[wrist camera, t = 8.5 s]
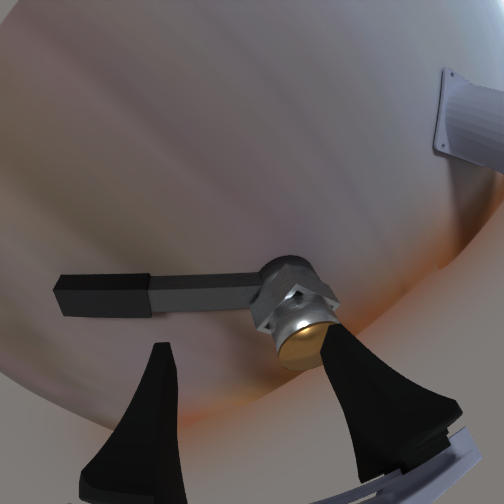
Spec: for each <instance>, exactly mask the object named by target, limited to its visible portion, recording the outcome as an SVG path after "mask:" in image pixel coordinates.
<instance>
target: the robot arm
mask: <svg viewBox="0 0 504 504" xmlns="http://www.w3.org/2000/svg"><path fill="white" fill-rule="evenodd" d="M441 146H442V147H441ZM434 148H435V149H436V150H438V151H441V152H444V153H447V154H450V155H452V156H455V157H458V158H461V159H463V160H466V161H469V162H471V163H474V164H476V165H479V166H481V167H484V166H487V167H490V168H492V169H494V170H496V171H498V172H499V173H501V174H503V175H504V92H503V91H499V90H495V89H491V88H486V87H481V86H476V85H473V84H472V83H471V82H469V81H468V80H466V79H465V78H463V77H462V76H460V75H459V74H457V73H456V72H454V71H453V70H451V69H450V68H444V69H443V77H442V89H441V99H440V107H439V115H438V122H437V128H436V134H435V140H434ZM320 355H321V359H322V362H323V365H324V368H325V371H326V374H327V375H328V378H329V380H330V383H331V385H332V387H333V389H334V391H335V394H336V396H337V398H338V400H339V402H340V404H341V407H342V409H343V412H344V415H345V418H346V421H347V424H348V428H349V431H350V435H351V439H352V443H353V447H354V452H355V457H356V463H357V468H358V477H359V480H360V482H361V483H364V482H367V481H369V480H371V479H373V478H376V477H378V476H380V475H383V474H384V475H385V476H383V477H381V478H379V479H377V480H374V481H372V482H370V483H367V484H365V485H363V486H360V487H357V488H355V489H353V490H350V491H347V492H344V493H342V494H339V495H336V496H333V497H330V498H327V499H324V500H320V501H317V502H313V503H310V504H348V503H351V502H353V501H356V500H358V499H361V498H363V497H365V496H368V495H370V494H372V493H375V492H377V493H376V496H375V497H373V498H370V499H368V500H365V501H363V502H360V503H358V504H431V503H432V502H433V501H435V500H436V499H437V498H438V497H439V496H441V495H442V494H443V493H444V492H445V491H447V490H448V489H449V488H450V487H451V486H452V485H453V484H454V483H456V482H457V481H458V480H459V479H460V478H461V477H462V476H463V475H464V474H465V473H466V472H468V471H469V470H470V469H471V468H472V467H473V466H474V465H475V464H476V463H478V462H479V461H480V460H481V459H482V456H481V454H480V452H479V450H478V448H477V446H476V444H475V442H474V440H473V439H472V437H471V435H470V433H469V431H468V429H467V427H466V426H464V427H463V428H462V429H461V430H459V431H458V432H456V433H455V434H454V435H452V436H451V437H449V438H447V436H446V435H447V434H448V433H449V432H448V430H447V427H449V426H450V425H451V424H452V423H453V422H455V421H456V420H457V419H458V418H459V417H460V416H461V415H462V413H463V412H462V410H461V408H460V407H459V405H458V403H457V402H456V400H454V399H450V398H447V397H445V396H441V395H439V394H437V393H434V392H432V391H430V390H427V389H425V388H423V387H421V386H419V385H417V384H416V383H414V382H412V381H410V380H409V379H407V378H405V377H404V376H402V375H401V374H399V373H398V372H396V371H395V370H393V369H392V368H391V367H389V366H388V365H387V364H386V363H384V362H383V361H382V360H380V359H379V358H378V357H377V356H376V355H374V354H373V353H372V352H371V351H370V350H369V349H367V348H366V347H365V346H364V345H363V344H362V343H361V342H360V341H359V340H358V339H357V338H356V337H355V336H354V335H352V334H351V333H350V332H349V331H348V330H347V329H346V328H345V327H344V326H343V325H342V324H341V323H338V324H333V325H329V326H328V329H327V332H326V335H325V338H324V341H323V344H322V347H321V350H320ZM177 407H178V382H177V368H176V365H175V361H174V358H173V354H172V350H171V346H170V342H160V343H155V344H154V345H153V349H152V352H151V355H150V358H149V361H148V364H147V366H146V369H145V372H144V374H143V376H142V379H141V381H140V384H139V386H138V388H137V390H136V392H135V394H134V396H133V398H132V401H131V403H130V404H129V406H128V408H127V410H126V412H125V414H124V415H123V417H122V419H121V421H120V422H119V424H118V425H117V427H116V428H115V430H114V432H113V433H112V434H111V436H110V437H109V439H108V440H107V442H106V443H105V444H104V445H103V447H102V448H101V449H100V451H99V452H98V453H97V454H96V456H95V457H94V458H93V459H92V460H91V461H90V462H89V463H88V464H87V465H86V467H85V468H84V469H83V470H82V471H81V475H80V480H79V498H80V499H81V500H82V501H85V502H88V503H91V504H187V499H186V494H185V489H184V483H183V479H182V472H181V466H180V458H179V450H178V441H177ZM67 504H70V503H67Z"/></svg>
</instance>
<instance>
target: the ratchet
mask: <svg viewBox="0 0 504 504" xmlns="http://www.w3.org/2000/svg"><path fill="white" fill-rule="evenodd" d="M285 264H288V265H290V266H292V267H294V268H296V269H298V270H300V271H302V272H304V273H306V274H308V275H310V276H312V277H314V278H316V279H318V280H320V278H319V277H318V275H317V274H316V272H315V270H314V269H313V267H312V266H311V264H310V263H309V262H308V261H307V260H306V259H304V258H302V257H299V256H294V255H288V256H282V257H278V258H276V259H274V260H272V261H270V262H269V263H267V264H266V265H265V266H264V267H263V268H262V269H261V270H260V271H259V272H256V273H235V274H210V275H182V276H149V273H142V274H93V275H61V276H60V278H59V279H58V281H57V283H56V285H55V287H54V288H53V292H54V294H55V297H56V299H57V302H58V304H59V306H60V309H61V311H62V313H63V316H71V317H104V318H152V312H180V311H206V310H225V309H242V308H250V307H251V306H252V304H253V303H254V302H255V301H256V300H257V298H258V297H259V296H260V295H261V293H262V292H263V291H264V290H265V289H266V287H267V286H268V285H269V284H270V282H271V281H272V280H273V279H274V277H275V276H276V275H277V274H278V272H279V271H280V270H281V269H282V267H283V266H284V265H285ZM320 281H321V280H320ZM297 294H302V292H300V291H298V290H297V291H296V292H295V293H294V294H293V295H292V296H295V295H297Z"/></svg>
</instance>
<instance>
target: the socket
mask: <svg viewBox="0 0 504 504" xmlns="http://www.w3.org/2000/svg"><path fill="white" fill-rule="evenodd" d="M297 290H298V291H300V292H302V294H297V295H295V296H292V295H293V294H294V293H295V292H296V291H297ZM340 305H341V304H340V302H339V301H338V299H337V297H336V296H335V294H334V293H333V291H332V289H331V288H330V286H329V285H328V284H326V283H324V282H322V281H320V280H318V279H316V278H314V277H312V276H310V275H308V274H306V273H304V272H302V271H300V270H298V269H296V268H294V267H292V266H290V265H288V264H285V265H284V266H283V267H282V269H281V270H280V271H279V272H278V274H277V275H276V276H275V277H274V279H273V280H272V281H271V282H270V284H269V285H268V286H267V287H266V289H265V290H264V291H263V292H262V293H261V295H260V296H259V297H258V298H257V300H256V301H255V302H254V303H253V304H252V306H251V307H250V309H251V313H252V317H253V320H254V324H255V328H256V330H258V331H261V332H265V333H268V334H271V335H272V337H273V340H274V343H275V346H276V349H277V352H278V358H279V361H280V363H281V365H282V366H283V367H285V368H286V369H289V370H294V371H303V370H309V369H313V368H316V367H318V366H321V365H323V362H322V359H321V355H320V350H321V347H322V344H323V341H324V338H325V335H326V332H327V329H328V326H329V325H333V324H338V323H340V322H339V320H338V319H337V317H336V315H335V313H334V311H335V310H336V309H337V308H338V307H339V306H340Z"/></svg>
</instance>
